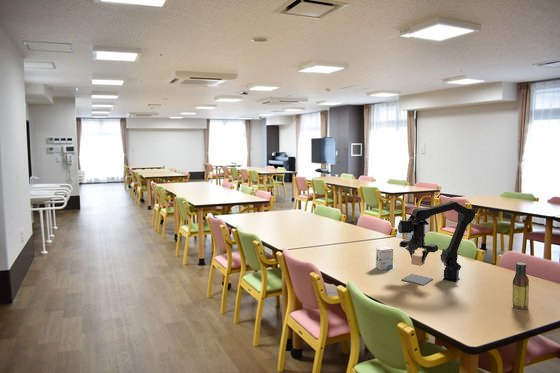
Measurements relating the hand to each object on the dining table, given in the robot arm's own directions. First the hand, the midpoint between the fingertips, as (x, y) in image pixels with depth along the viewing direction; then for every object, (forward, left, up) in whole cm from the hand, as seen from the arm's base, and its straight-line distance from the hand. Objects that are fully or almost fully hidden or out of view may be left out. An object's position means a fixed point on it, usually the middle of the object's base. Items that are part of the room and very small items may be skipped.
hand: (418, 262), depth 216 cm
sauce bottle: (-49, +5, -10) cm, 50 cm away
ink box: (+23, -7, -10) cm, 26 cm away
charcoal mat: (0, 0, -10) cm, 10 cm away
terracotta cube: (0, 0, -1) cm, 1 cm away
